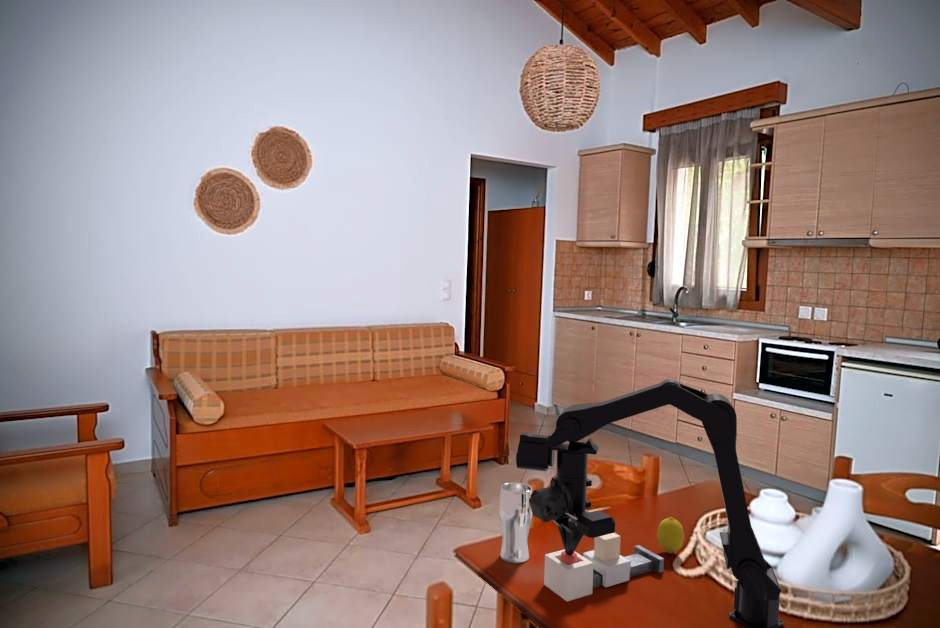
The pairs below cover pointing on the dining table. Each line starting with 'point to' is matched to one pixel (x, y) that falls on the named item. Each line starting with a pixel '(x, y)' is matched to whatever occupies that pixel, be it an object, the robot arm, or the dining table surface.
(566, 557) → the red cylinder
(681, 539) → the lemon
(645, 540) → the dining table surface
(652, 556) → the rail
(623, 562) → the carriage
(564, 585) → the white open box
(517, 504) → the beer glass
